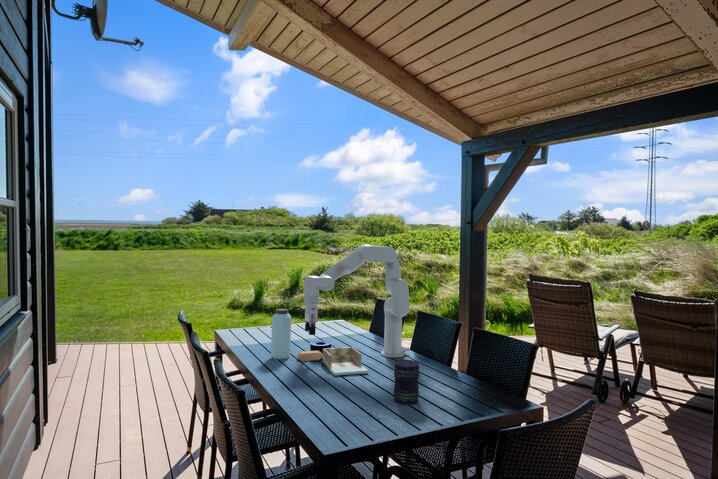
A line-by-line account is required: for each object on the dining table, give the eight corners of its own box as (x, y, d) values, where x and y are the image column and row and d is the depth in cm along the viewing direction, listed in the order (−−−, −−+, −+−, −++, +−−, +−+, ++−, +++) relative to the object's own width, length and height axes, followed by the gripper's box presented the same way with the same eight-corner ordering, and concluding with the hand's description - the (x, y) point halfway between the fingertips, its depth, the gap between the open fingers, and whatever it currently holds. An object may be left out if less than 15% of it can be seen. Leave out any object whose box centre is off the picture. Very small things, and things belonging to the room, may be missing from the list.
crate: (352, 360, 232) (352, 346, 232) (361, 368, 219) (361, 353, 219) (322, 362, 227) (322, 348, 227) (329, 370, 214) (329, 355, 214)
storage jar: (402, 394, 183) (403, 350, 183) (423, 400, 177) (424, 355, 177) (388, 400, 176) (389, 355, 176) (409, 407, 169) (410, 359, 169)
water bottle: (266, 358, 232) (268, 309, 232) (278, 353, 241) (280, 307, 241) (282, 361, 228) (283, 311, 228) (294, 356, 237) (295, 309, 236)
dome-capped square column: (321, 357, 236) (321, 350, 236) (323, 359, 232) (323, 352, 232) (296, 359, 232) (296, 351, 232) (297, 361, 228) (297, 353, 228)
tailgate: (362, 365, 218) (368, 370, 210) (362, 368, 218) (368, 373, 210) (329, 367, 213) (334, 372, 204) (329, 370, 213) (334, 375, 204)
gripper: (322, 302, 225) (321, 336, 225) (314, 297, 242) (313, 329, 242) (307, 302, 223) (306, 336, 223) (300, 297, 239) (299, 329, 239)
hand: (310, 332), depth 232 cm, fingers open, 9 cm apart
